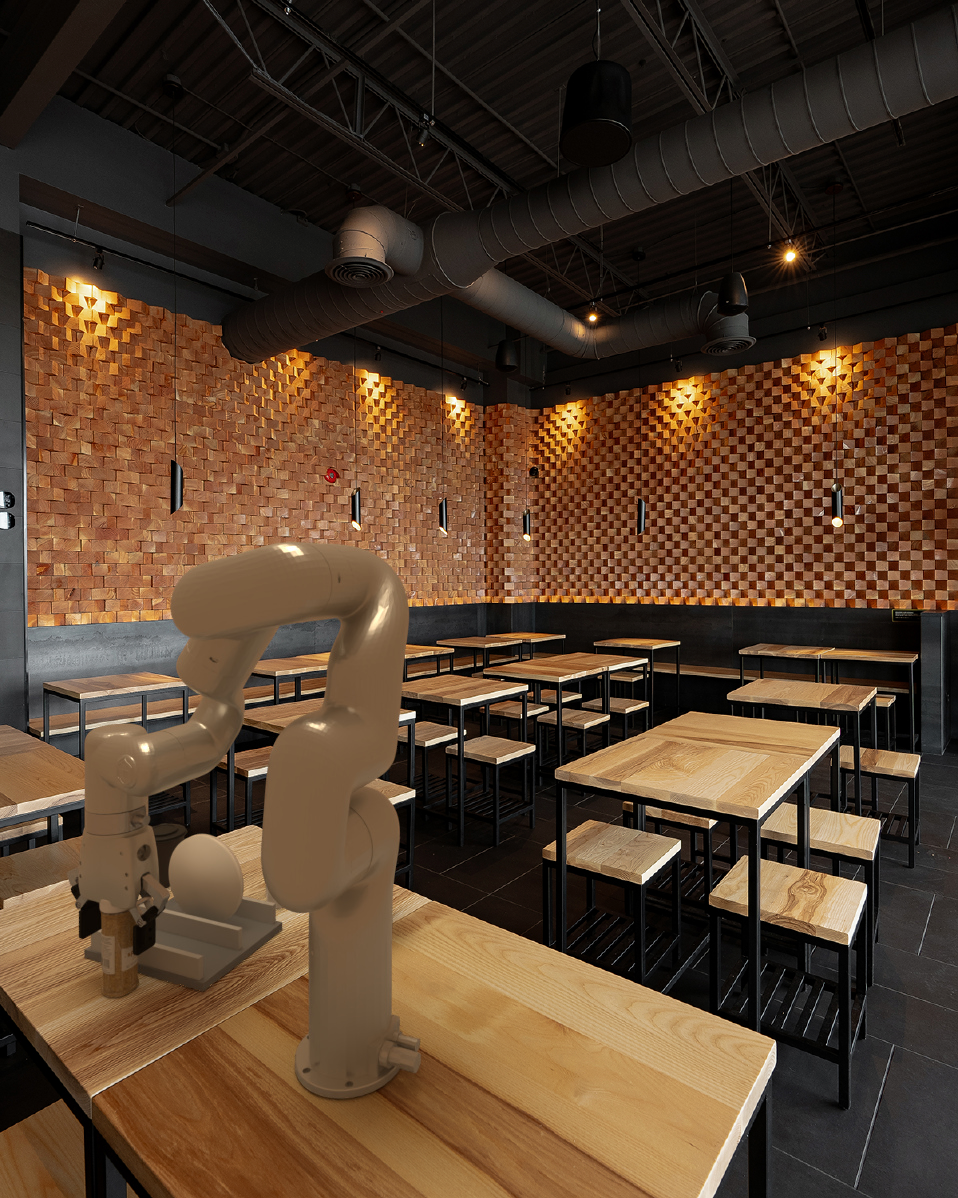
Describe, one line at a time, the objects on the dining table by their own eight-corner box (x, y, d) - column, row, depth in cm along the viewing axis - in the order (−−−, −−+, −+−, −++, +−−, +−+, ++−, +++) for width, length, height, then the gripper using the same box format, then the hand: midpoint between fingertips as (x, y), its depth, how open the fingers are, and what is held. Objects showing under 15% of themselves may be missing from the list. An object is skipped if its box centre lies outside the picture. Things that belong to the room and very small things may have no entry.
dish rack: (282, 929, 107) (281, 835, 107) (203, 992, 91) (202, 881, 91) (174, 904, 115) (173, 815, 114) (84, 957, 99) (82, 855, 98)
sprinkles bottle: (141, 991, 91) (139, 894, 91) (102, 1003, 89) (100, 903, 88) (136, 974, 95) (135, 880, 95) (99, 985, 93) (98, 889, 92)
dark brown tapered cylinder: (172, 868, 129) (172, 816, 128) (197, 880, 124) (196, 826, 123) (129, 884, 122) (129, 829, 122) (153, 897, 117) (153, 840, 117)
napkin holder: (282, 921, 111) (282, 886, 111) (224, 909, 114) (224, 876, 114) (330, 880, 125) (329, 850, 125) (277, 872, 129) (276, 842, 128)
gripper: (188, 818, 91) (187, 942, 92) (94, 799, 98) (94, 915, 98) (143, 839, 84) (142, 972, 85) (44, 817, 91) (45, 942, 91)
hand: (117, 941), depth 92 cm, fingers open, 9 cm apart
